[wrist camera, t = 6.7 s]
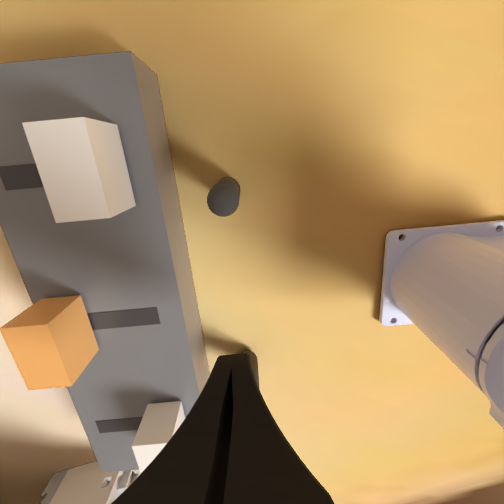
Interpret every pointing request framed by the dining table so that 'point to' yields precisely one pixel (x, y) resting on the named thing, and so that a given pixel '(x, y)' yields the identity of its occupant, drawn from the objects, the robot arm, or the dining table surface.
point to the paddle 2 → (156, 430)
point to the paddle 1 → (81, 168)
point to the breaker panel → (107, 245)
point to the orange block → (51, 342)
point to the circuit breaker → (87, 485)
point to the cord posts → (224, 204)
